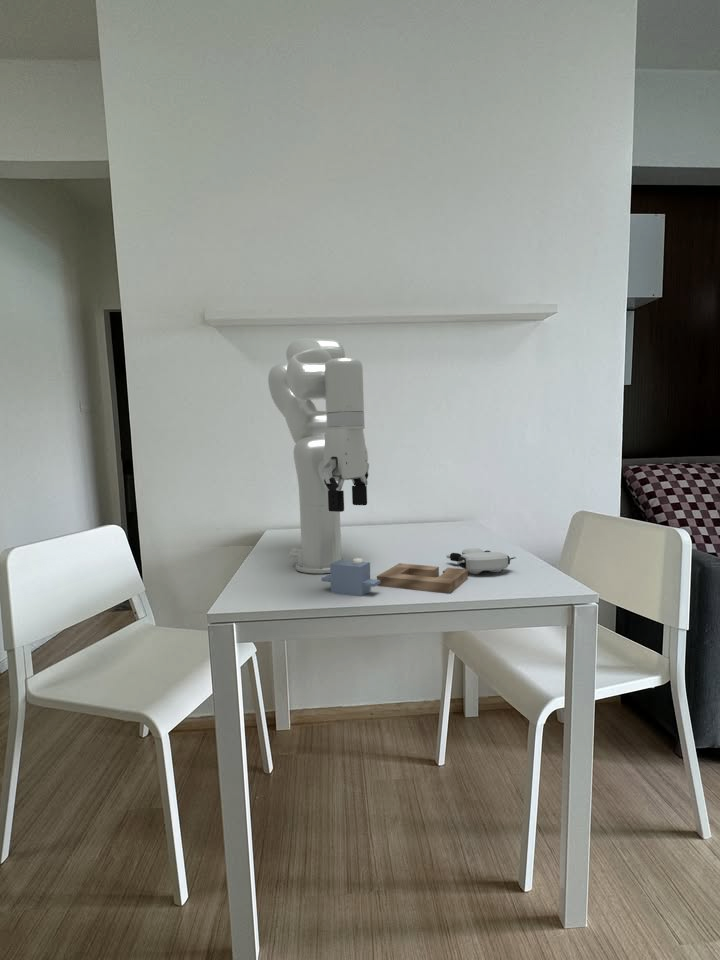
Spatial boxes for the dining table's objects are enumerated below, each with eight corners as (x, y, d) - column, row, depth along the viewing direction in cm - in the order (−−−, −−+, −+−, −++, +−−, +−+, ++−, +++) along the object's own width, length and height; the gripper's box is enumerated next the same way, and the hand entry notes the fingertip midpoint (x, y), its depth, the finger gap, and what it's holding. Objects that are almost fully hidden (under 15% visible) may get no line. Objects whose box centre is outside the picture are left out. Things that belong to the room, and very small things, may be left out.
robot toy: (443, 567, 133) (464, 578, 118) (442, 548, 133) (463, 557, 118) (491, 564, 135) (518, 574, 120) (491, 545, 135) (517, 554, 120)
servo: (320, 591, 113) (319, 558, 112) (330, 586, 116) (329, 553, 116) (373, 598, 107) (372, 562, 107) (381, 592, 111) (380, 558, 110)
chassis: (377, 585, 116) (376, 576, 116) (399, 571, 126) (399, 563, 126) (450, 593, 108) (450, 583, 108) (467, 578, 119) (467, 569, 119)
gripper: (349, 423, 118) (352, 502, 120) (305, 422, 103) (309, 513, 104) (381, 421, 115) (383, 503, 116) (340, 420, 99) (343, 514, 101)
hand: (348, 508), depth 110 cm, fingers open, 9 cm apart
